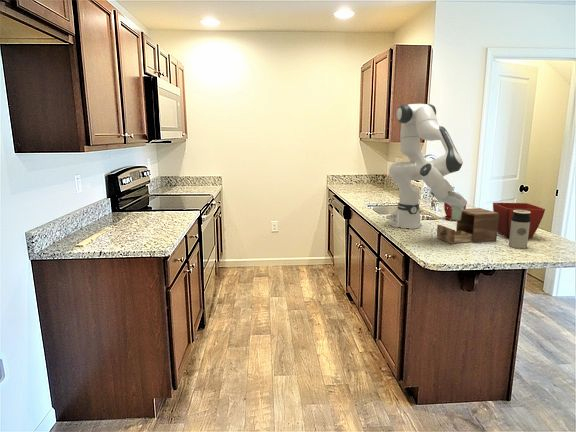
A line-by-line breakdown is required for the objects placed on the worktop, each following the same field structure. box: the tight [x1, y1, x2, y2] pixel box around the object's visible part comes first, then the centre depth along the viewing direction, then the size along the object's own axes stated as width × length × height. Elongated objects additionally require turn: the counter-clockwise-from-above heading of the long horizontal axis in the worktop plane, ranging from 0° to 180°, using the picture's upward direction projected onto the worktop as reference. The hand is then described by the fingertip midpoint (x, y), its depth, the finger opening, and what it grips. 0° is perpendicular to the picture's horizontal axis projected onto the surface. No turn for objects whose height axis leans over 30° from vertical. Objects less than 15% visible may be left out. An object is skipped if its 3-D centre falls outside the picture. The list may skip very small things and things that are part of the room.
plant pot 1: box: [443, 203, 467, 222], centre depth 259 cm, size 13×13×12 cm
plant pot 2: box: [492, 202, 546, 239], centre depth 218 cm, size 19×19×17 cm
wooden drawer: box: [436, 224, 473, 245], centre depth 209 cm, size 13×16×7 cm
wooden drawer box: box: [455, 207, 499, 244], centre depth 212 cm, size 14×14×15 cm
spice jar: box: [451, 205, 462, 220], centre depth 207 cm, size 5×5×11 cm
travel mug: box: [508, 210, 531, 249], centre depth 197 cm, size 8×8×18 cm
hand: (458, 208), depth 207 cm, fingers closed on spice jar, 5 cm apart
